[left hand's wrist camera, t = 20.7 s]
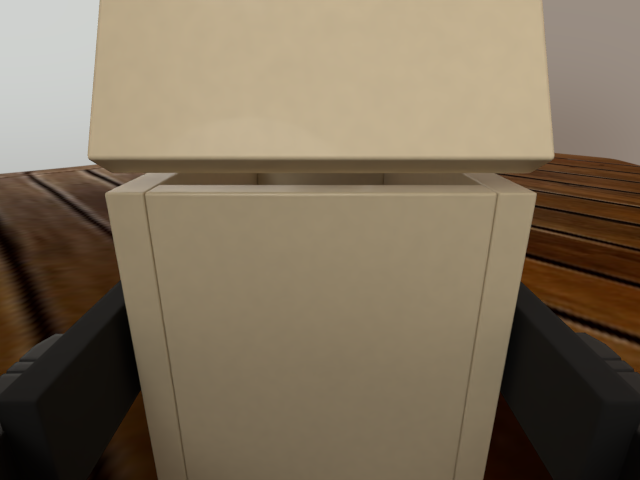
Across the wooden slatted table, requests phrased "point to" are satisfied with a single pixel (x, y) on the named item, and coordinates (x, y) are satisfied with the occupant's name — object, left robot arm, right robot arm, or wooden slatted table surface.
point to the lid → (321, 86)
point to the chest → (320, 319)
